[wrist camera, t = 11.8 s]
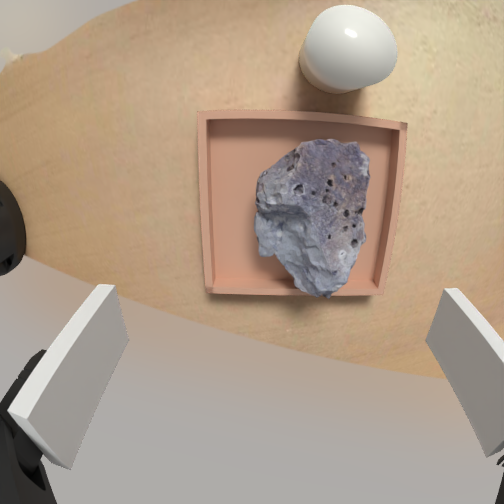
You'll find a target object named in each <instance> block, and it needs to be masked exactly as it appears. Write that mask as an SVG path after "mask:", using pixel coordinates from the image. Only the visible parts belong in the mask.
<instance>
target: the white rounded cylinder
mask: <svg viewBox="0 0 504 504" xmlns="http://www.w3.org/2000/svg"><path fill="white" fill-rule="evenodd" d="M396 61H397V45H396V41H395V38H394V36H393V34H392V32H391V30H390V29H389V27H388V26H387V25H386V24H385V22H384V21H382V20H381V19H380V18H379V17H378V16H377V15H375V14H374V13H372V12H370V11H368V10H366V9H364V8H361V7H357V6H352V5H339V6H334V7H331V8H329V9H327V10H325V11H323V12H322V13H321V14H320V15H318V17H317V18H316V19H315V21H314V22H313V24H312V26H311V28H310V30H309V32H308V34H307V36H306V38H305V40H304V42H303V44H302V46H301V49H300V52H299V64H300V68H301V71H302V73H303V75H304V76H305V78H306V79H307V80H308V81H309V82H310V83H311V84H312V85H313V86H315V87H316V88H318V89H320V90H322V91H324V92H328V93H333V94H342V93H347V92H350V91H353V90H356V89H360V88H363V87H366V86H370V85H373V84H376V83H379V82H381V81H382V80H384V79H385V78H387V77H388V76H389V75H390V73H391V72H392V71H393V69H394V67H395V64H396Z"/></svg>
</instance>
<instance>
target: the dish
mask: <svg viewBox="0 0 504 504" xmlns="http://www.w3.org/2000/svg"><path fill="white" fill-rule="evenodd" d="M197 125H198V165H199V192H200V213H201V231H202V247H203V262H204V276H205V288H206V293H218V294H250V295H309V296H313V295H310V294H309V293H306V292H303V291H301V290H300V289H298V288H297V287H296V286H295V284H294V278H293V276H292V275H291V274H290V273H289V272H288V271H287V270H286V268H285V266H283V265H282V264H281V262H280V261H279V260H278V258H277V257H276V255H275V254H273V255H272V256H270V257H261V256H260V254H259V244H258V240H257V235H256V233H255V231H254V217H255V214H256V212H257V211H258V209H257V207H256V204H255V201H256V185H257V180H258V178H259V176H260V174H261V173H262V172H263V171H265V170H267V169H268V168H271V166H272V165H274V164H275V163H276V162H278V161H279V160H280V159H281V158H282V157H283V156H284V155H286V154H287V153H289V152H290V151H292V150H294V149H295V148H296V147H298V146H299V145H300V144H301V143H302V142H308V141H313V140H316V139H322V140H327V139H335V140H338V141H340V142H341V143H349V142H355V141H356V142H357V143H358V144H359V146H360V151H362V152H364V153H365V154H366V155H367V156H368V157H369V159H370V162H369V174H370V176H371V178H370V180H369V186H368V189H367V195H366V199H367V202H366V208H365V210H364V211H363V213H362V218H363V221H364V223H365V226H364V232H365V234H366V242H365V243H364V244H362V245H361V246H360V251H359V254H358V255H357V259H356V262H355V265H354V266H353V267H352V269H351V270H350V275H349V277H348V281H347V283H346V284H345V285H343V286H342V287H341V288H340V289H338V291H337V292H334V293H332V294H331V296H350V295H383V293H384V289H385V284H386V280H387V275H388V271H389V266H390V261H391V256H392V250H393V245H394V239H395V234H396V227H397V221H398V215H399V208H400V200H401V193H402V184H403V175H404V165H405V154H406V140H407V123H403V122H397V121H391V120H385V119H378V118H370V117H362V116H354V115H344V114H334V113H322V112H307V111H286V110H215V111H197ZM321 296H323V295H321Z"/></svg>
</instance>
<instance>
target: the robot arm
mask: <svg viewBox="0 0 504 504" xmlns="http://www.w3.org/2000/svg"><path fill="white" fill-rule="evenodd" d="M24 251H25V228H24V223H23V219H22V215H21V212H20V209H19V207H18V204H17V202H16V200H15V198H14V196H13V194H12V193H11V191H10V190H9V189H8V187H7V186H6V185H5V184H4V183H3V182H2V181H0V276H1V275H5V274H7V273H8V272H10V271H11V270H13V269H14V268H15V267H16V266H17V265H18V264H19V263H20V262H21V260H22V258H23V255H24ZM128 341H129V338H128V335H127V331H126V327H125V324H124V320H123V316H122V312H121V308H120V304H119V299H118V295H117V291H116V286H115V285H106V284H98V285H97V287H96V288H95V289H94V290H93V292H92V293H91V294H90V296H89V297H88V298H87V299H86V300H85V301H84V303H83V304H82V305H81V307H80V308H79V309H78V310H77V312H76V313H75V314H74V315H73V317H72V318H71V319H70V321H69V322H68V323H67V325H66V326H65V327H64V329H63V330H62V331H61V332H60V334H59V335H58V336H57V338H56V339H55V341H54V342H53V343H52V345H51V346H50V347H49V349H48V350H41V351H39V352H38V353H37V354H35V355H34V356H33V357H32V358H31V359H30V360H29V362H28V363H27V364H26V366H25V367H24V370H22V371H21V373H20V374H19V376H18V379H16V380H15V381H14V383H13V384H12V386H11V387H10V389H9V391H8V392H7V393H6V395H5V396H4V398H3V399H2V401H1V403H0V504H57V502H56V500H55V497H54V494H53V492H52V489H51V486H50V484H49V481H48V478H47V474H46V471H45V468H44V465H43V464H42V462H41V460H40V459H41V457H42V455H43V454H44V455H45V457H46V458H47V459H48V460H49V461H50V462H51V463H53V464H56V465H58V466H61V467H63V468H66V469H69V470H71V467H72V465H73V462H74V460H75V457H76V455H77V453H78V450H79V448H80V445H81V443H82V440H83V438H84V436H85V433H86V431H87V429H88V426H89V424H90V422H91V419H92V417H93V415H94V413H95V410H96V408H97V406H98V404H99V401H100V399H101V397H102V395H103V393H104V391H105V389H106V386H107V384H108V382H109V380H110V378H111V376H112V374H113V372H114V370H115V368H116V366H117V363H118V361H119V359H120V357H121V355H122V353H123V351H124V349H125V347H126V345H127V343H128ZM425 341H426V342H427V344H428V346H429V347H430V349H431V351H432V353H433V354H434V356H435V358H436V359H437V361H438V363H439V365H440V366H441V368H442V370H443V372H444V373H445V375H446V377H447V379H448V381H449V382H450V384H451V386H452V388H453V390H454V392H455V394H456V395H457V397H458V399H459V401H460V403H461V405H462V407H463V409H464V411H465V413H466V415H467V417H468V419H469V421H470V423H471V425H472V427H473V429H474V431H475V433H476V435H477V438H478V440H479V442H480V444H481V446H482V449H483V451H484V453H485V456H486V457H489V456H491V455H493V454H495V453H497V452H499V451H501V450H502V449H503V448H504V341H503V340H502V339H501V338H500V336H499V335H498V334H497V333H496V331H495V330H494V329H493V328H492V327H491V325H490V324H489V323H488V322H487V321H486V319H485V318H484V317H483V316H482V315H481V314H480V313H479V311H478V310H477V309H476V308H475V307H474V306H473V305H472V303H471V302H470V301H469V300H468V299H467V298H466V297H465V296H464V295H463V293H462V292H461V291H460V290H459V289H458V288H445V289H444V290H443V293H442V296H441V299H440V302H439V305H438V308H437V311H436V314H435V317H434V319H433V322H432V325H431V327H430V330H429V333H428V335H427V338H426V340H425ZM503 460H504V455H503V456H502V457H501V458H500V459H499V460H498V462H497V465H499V464H500V463H501V462H502V461H503ZM502 466H503V467H504V463H503V465H502ZM495 504H504V473H503V477H502V481H501V485H500V488H499V492H498V495H497V499H496V502H495Z"/></svg>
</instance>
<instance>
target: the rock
mask: <svg viewBox="0 0 504 504" xmlns="http://www.w3.org/2000/svg"><path fill="white" fill-rule="evenodd" d="M369 162H370V159H369V157H368V156H367V155H366V154H365V153H364V152H362V151H360V146H359V144H358V143H357V142H356V141H355V142H349V143H341V142H340V141H338V140H335V139H327V140H322V139H316V140H313V141H308V142H302V143H301V144H300V145H299V146H298V147H296V148H295V149H294V150H292V151H290V152H289V153H287V154H286V155H284V156H283V157H282V158H281V159H280V160H279V161H278V162H276V163H275V164H274V165H272V166H271V168H268V169H267V170H265V171H263V172H262V173H261V174H260V176H259V178H258V180H257V185H256V201H255V204H256V207H257V209H258V211H257V212H256V214H255V217H254V231H255V233H256V235H257V240H258V244H259V254H260V256H261V257H270V256H272V255H273V254H275V255H276V257H277V258H278V260H279V261H280V262H281V264H282V265H283V266H285V268H286V270H287V271H288V272H289V273H290V274H291V275H292V276H293V278H294V284H295V286H296V287H297V288H298V289H300V290H301V291H303V292H306V293H309V294H310V295H313V296H315V297H319V296H321V295H323V296H325V297H327V298H328V299H330V296H331V294H332V293H334V292H337V291H338V289H340V288H341V287H342V286H343V285H345V284H346V283H347V281H348V277H349V275H350V270H351V269H352V267H353V266H354V265H355V262H356V259H357V255H358V254H359V251H360V246H361V245H362V244H364V243H365V242H366V234H365V232H364V226H365V223H364V221H363V218H362V213H363V211H364V210H365V208H366V202H367V199H366V195H367V189H368V186H369V180H370V178H371V176H370V174H369Z"/></svg>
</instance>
